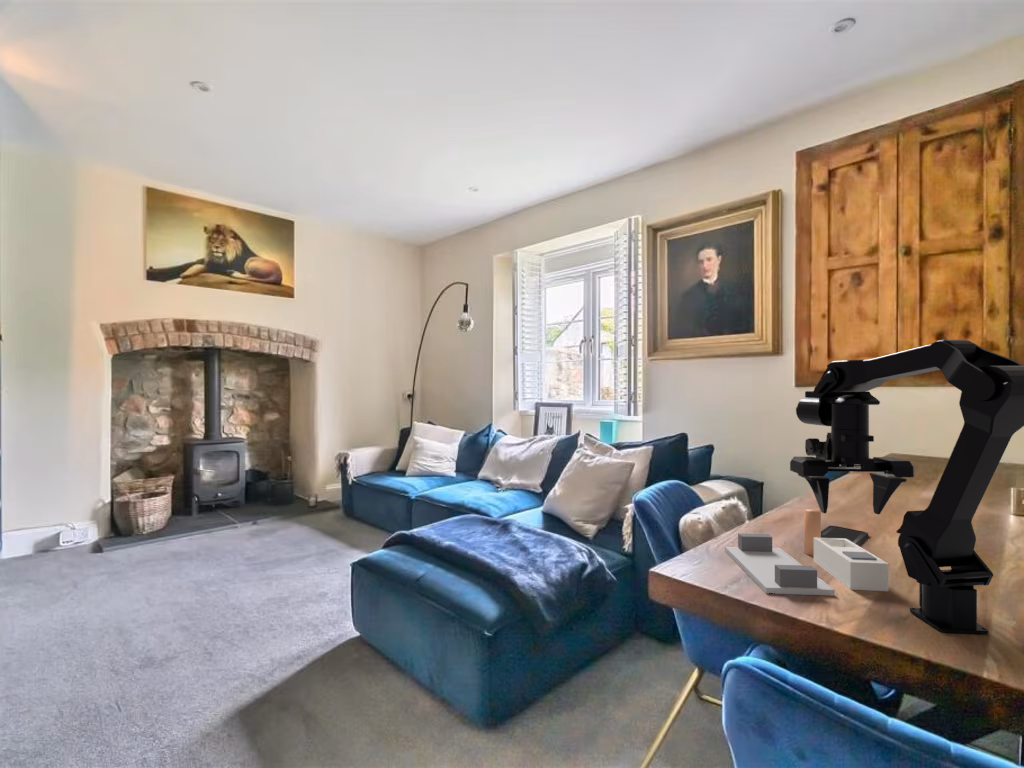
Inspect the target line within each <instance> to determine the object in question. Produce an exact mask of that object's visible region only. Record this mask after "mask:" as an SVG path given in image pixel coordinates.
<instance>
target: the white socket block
mask: <svg viewBox="0 0 1024 768" xmlns="http://www.w3.org/2000/svg"><path fill="white" fill-rule="evenodd" d="M813 562H814V563H815V564H817V565H818V566H819V567H820V568H822V569H824V570H825V571H826V572H827V573H829V575H831V576H832V577H833V578H835V579H836V580H837V581H839V583H841V584H843V585H844V586H845V587H846V588H848V589H849V590H854V591H871V592H873V591H874V592H875V591H877V592H889V563H888V562H886V561H884V559H882V558H879V557H878V556H876V555H875V554H873V553H871V552H870V551H868V550H866V549H864V548H863V547H861V546H860V545H859V546H858V545H856V544H855V543H853V542H851V541H850V540H848V539H845V538H817V537H814V556H813Z"/></svg>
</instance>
